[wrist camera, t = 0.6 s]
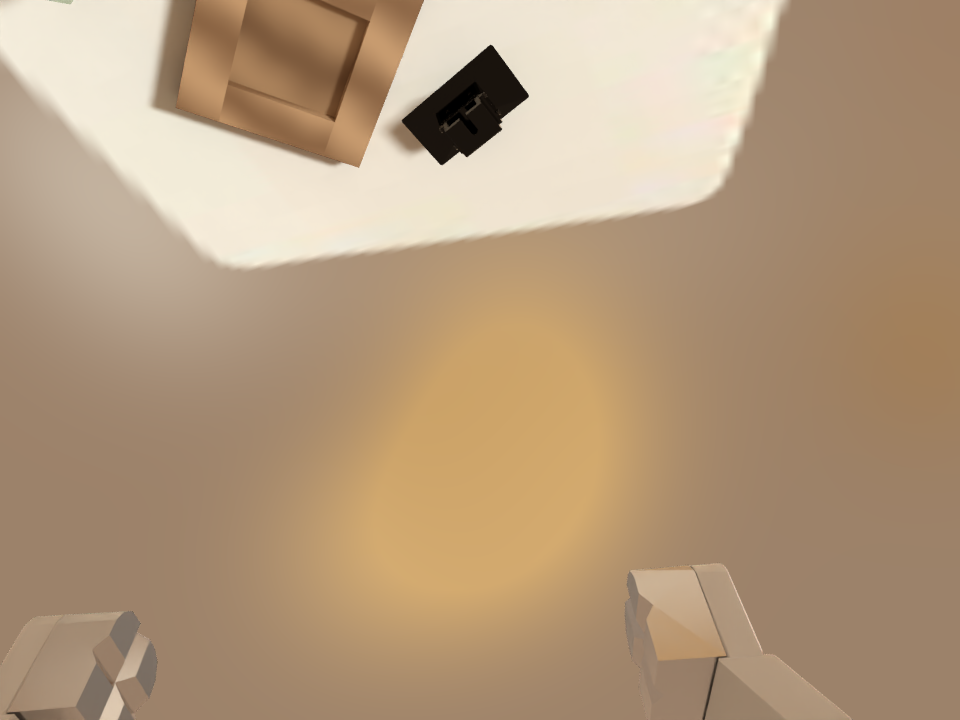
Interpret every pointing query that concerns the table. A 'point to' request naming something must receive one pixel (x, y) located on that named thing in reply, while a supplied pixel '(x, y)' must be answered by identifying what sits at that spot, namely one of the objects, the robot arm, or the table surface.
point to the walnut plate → (297, 68)
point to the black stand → (467, 108)
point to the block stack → (63, 1)
